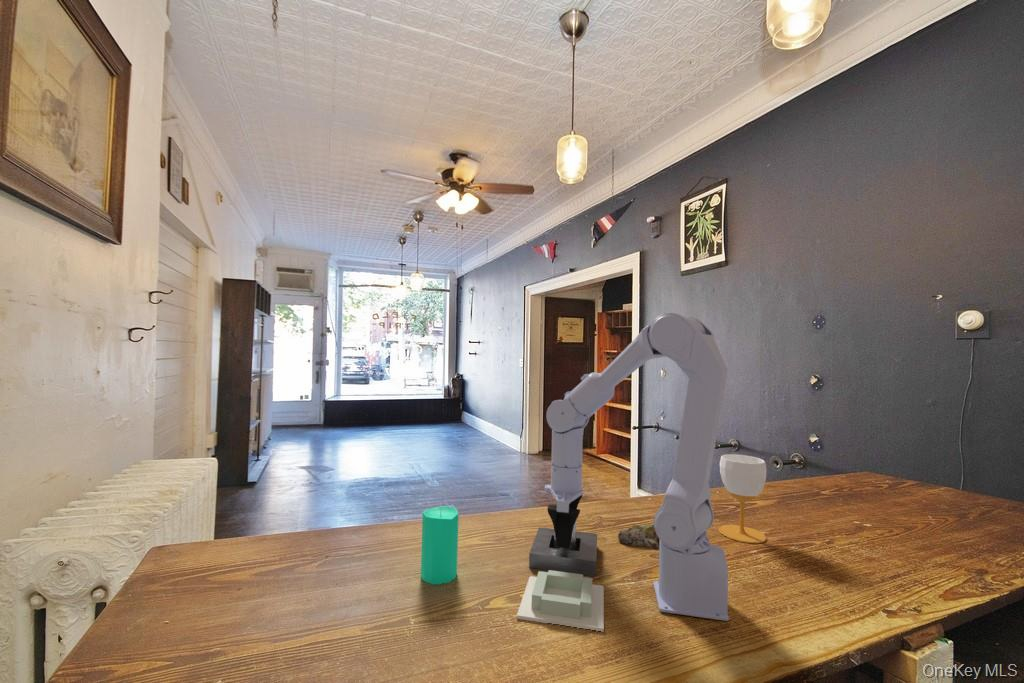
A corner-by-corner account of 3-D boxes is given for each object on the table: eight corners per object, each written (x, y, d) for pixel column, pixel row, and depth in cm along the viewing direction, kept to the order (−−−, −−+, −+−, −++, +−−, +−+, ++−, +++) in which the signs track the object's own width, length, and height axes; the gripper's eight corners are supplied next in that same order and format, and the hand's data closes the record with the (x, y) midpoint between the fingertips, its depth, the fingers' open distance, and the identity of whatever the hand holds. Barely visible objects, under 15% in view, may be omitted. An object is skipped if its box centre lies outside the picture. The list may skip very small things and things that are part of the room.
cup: (710, 531, 93) (711, 457, 93) (731, 522, 98) (731, 452, 98) (754, 547, 85) (755, 466, 86) (774, 536, 91) (774, 460, 91)
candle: (421, 586, 68) (424, 510, 69) (419, 568, 74) (421, 498, 74) (459, 582, 70) (461, 507, 70) (454, 564, 76) (456, 495, 76)
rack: (603, 589, 69) (603, 573, 69) (603, 632, 58) (603, 613, 58) (529, 579, 71) (530, 563, 71) (516, 618, 60) (517, 600, 61)
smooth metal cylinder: (576, 553, 81) (577, 510, 81) (575, 563, 77) (576, 518, 77) (555, 550, 82) (556, 508, 82) (552, 560, 78) (553, 515, 78)
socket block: (596, 546, 84) (597, 533, 84) (595, 576, 73) (596, 561, 73) (538, 539, 86) (538, 527, 86) (529, 567, 75) (529, 553, 75)
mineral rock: (653, 519, 93) (674, 523, 86) (657, 541, 92) (678, 547, 85) (608, 524, 91) (625, 528, 84) (610, 546, 90) (628, 553, 82)
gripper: (550, 453, 88) (548, 520, 88) (539, 472, 74) (538, 552, 73) (584, 456, 86) (583, 524, 86) (581, 476, 72) (579, 557, 72)
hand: (565, 538), depth 80 cm, fingers open, 7 cm apart
